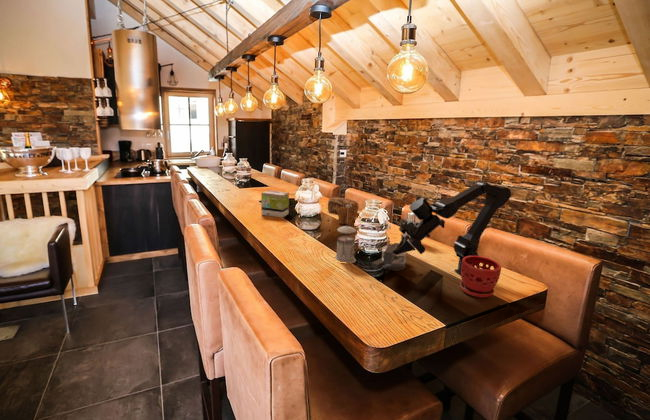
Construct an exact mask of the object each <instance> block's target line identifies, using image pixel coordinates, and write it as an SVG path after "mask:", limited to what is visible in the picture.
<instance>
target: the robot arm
mask: <svg viewBox="0 0 650 420" xmlns="http://www.w3.org/2000/svg"><path fill="white" fill-rule="evenodd" d="M484 194H485V200H484V202H485V203H484V204H483V206H482V208H481V209H480V212H479V213H478V215H477V216H476V218H475V220H474V222H472V224H471V227H469V229H468V231H467V232H466V234H464V235H461V234H459V235H458V237H457V239H456V241H454V245H453V250H454V252H455V256H456V257H458V258H459V260H458V264H457V265H458V266H457V268H455V269H454V272H456V273H457V274H458V275H460V276H461V264H462V259H463V258H464V257H466V256H480V255H479V254H478V253H477V251H478V248H479V240H480V238H481V237H482V235H483V233H484V232H485V230H486V228H487V226H488V225H489V223H491V220H492V219H493V217H494V216H495V213H496V212H497V210H498V209H500V208H501V207H504V206H505V205H506V203H508V201H509V200H510V198H511V197H512V192H511V189H510V188H509V187H508V186H507V187H506V186H504V185H497V184H491V183H489V182H485V181H481V180H480V181H477V182H476V183H475V184H474V185H472V186H470V187H468V188H467V189H465V190H463V191H461V192H459V193H458V194H456V195H454V196H452V197H447V198H443V199H440V200H438V201H436V202H435V203H429V202H428V200H427V198H425V197H421V198H419V199H417V200H415V201H412V203H411V204H410V206H409V209H410V212H413V213H414V214H415V215H416V217H417V218H418V219H419V220H420V222H419V223H418V222H415V223H413V222H411V221H407V220H406V218H403V217H402V218H401V219H400V220H399V223H398V224H397V226H399V228H398V231H400V232H401V234H400V237H401V238H400V242H399V245H398V246H397V248H396V249H395V251H394V253H395V254H396V255H397V254H401V253H404V252H407V253H408V252H412V251H414V252H415V251H417V252H418V253H419V254H420V255H422V254H423V253H425V252H426V247H425V246H424V244H423V242H422V241H423V240H424V239H425V238H426V237H427V238H430V236H431V235H430V234H431V233H432V232H434V231H435V230H436V229H437V228H438V227H439V226H440V227H441V228H442V229H444V228H445V225H446V224H445V223H446V221H445V220H444V219H450V218H451V217H454V215H456V213H458V211H459V209H460V208H462V207H463V206H465V205H467V204H469V203H470V202H472V201H474V200H475V199H478V197H481V196H482V195H484ZM440 217H441V218H443V219H441V218H440ZM470 264H472V262H471V263H470ZM473 267H476V266H473Z"/></svg>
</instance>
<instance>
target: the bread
mask: <svg viewBox="0 0 650 420" xmlns="http://www.w3.org/2000/svg"><path fill="white" fill-rule="evenodd" d="M350 202H351V203H352V202H353V203H356V204H357V205H358V206H359V203H358V202H357V201H356V200H353V199H350V198H345V197H337V196H333V197H330V198H329V199H328V201H327V211H328V212H329V213H335V214H338V213H337V212H338V209H339V208H340V207H345V208H346V205H349V204H350ZM346 209H347V210H348V208H346ZM358 210H359V209H358ZM358 210H356V211H355V212H356V213H359V211H358Z"/></svg>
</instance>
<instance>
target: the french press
mask: <svg viewBox="0 0 650 420" xmlns="http://www.w3.org/2000/svg"><path fill="white" fill-rule="evenodd" d="M346 208H350V205H346ZM347 220H348V210H347ZM337 232H338V233H341V234H345V235H342V236H339V237H337V241H336V256H335V257H334V258H335V259H336V260H338V261H340V262H346V263H351V264H354V263H356V261H357V259H356V258H355V249H356V247H355V246H356V242H355V238H354V237H352V236H348V235H349V234H353V233H356V232H357V230H356V229H355V228H353V226H350V225H343V226H340V227H338V228H337Z"/></svg>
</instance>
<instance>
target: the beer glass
mask: <svg viewBox="0 0 650 420" xmlns="http://www.w3.org/2000/svg"><path fill="white" fill-rule="evenodd" d="M405 220H407V221H411V222H413V223H415V222H418V223H419V222H421V220H419V219H418V218H417V217H416V215H415V214H414V213H413V212H412V211H408V212H406V217H405Z"/></svg>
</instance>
